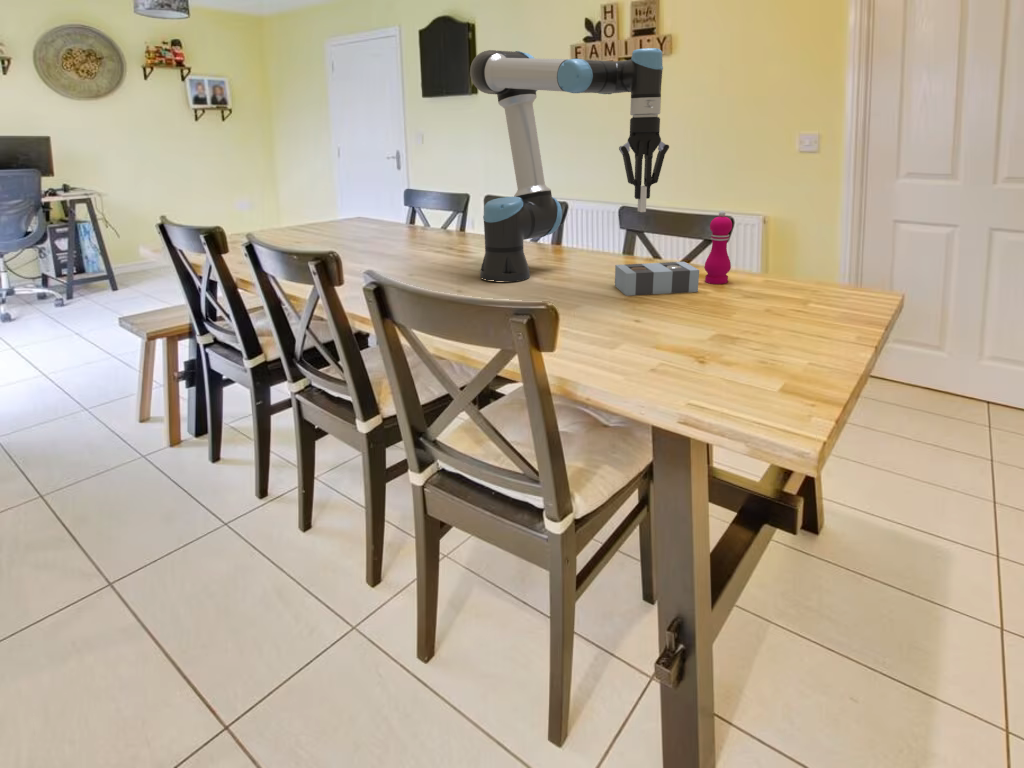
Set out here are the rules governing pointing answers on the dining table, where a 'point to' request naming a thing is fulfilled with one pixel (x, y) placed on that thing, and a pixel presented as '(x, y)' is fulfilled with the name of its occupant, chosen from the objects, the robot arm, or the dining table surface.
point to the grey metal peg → (673, 266)
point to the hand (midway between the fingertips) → (641, 211)
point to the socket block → (656, 278)
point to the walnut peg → (638, 268)
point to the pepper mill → (718, 251)
